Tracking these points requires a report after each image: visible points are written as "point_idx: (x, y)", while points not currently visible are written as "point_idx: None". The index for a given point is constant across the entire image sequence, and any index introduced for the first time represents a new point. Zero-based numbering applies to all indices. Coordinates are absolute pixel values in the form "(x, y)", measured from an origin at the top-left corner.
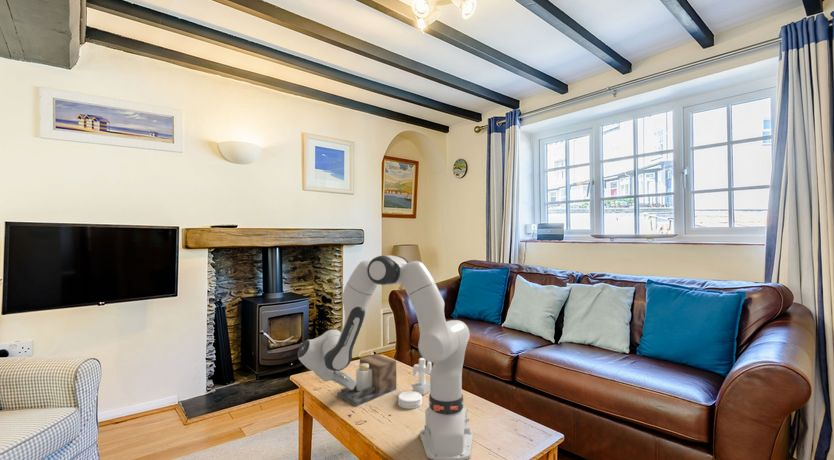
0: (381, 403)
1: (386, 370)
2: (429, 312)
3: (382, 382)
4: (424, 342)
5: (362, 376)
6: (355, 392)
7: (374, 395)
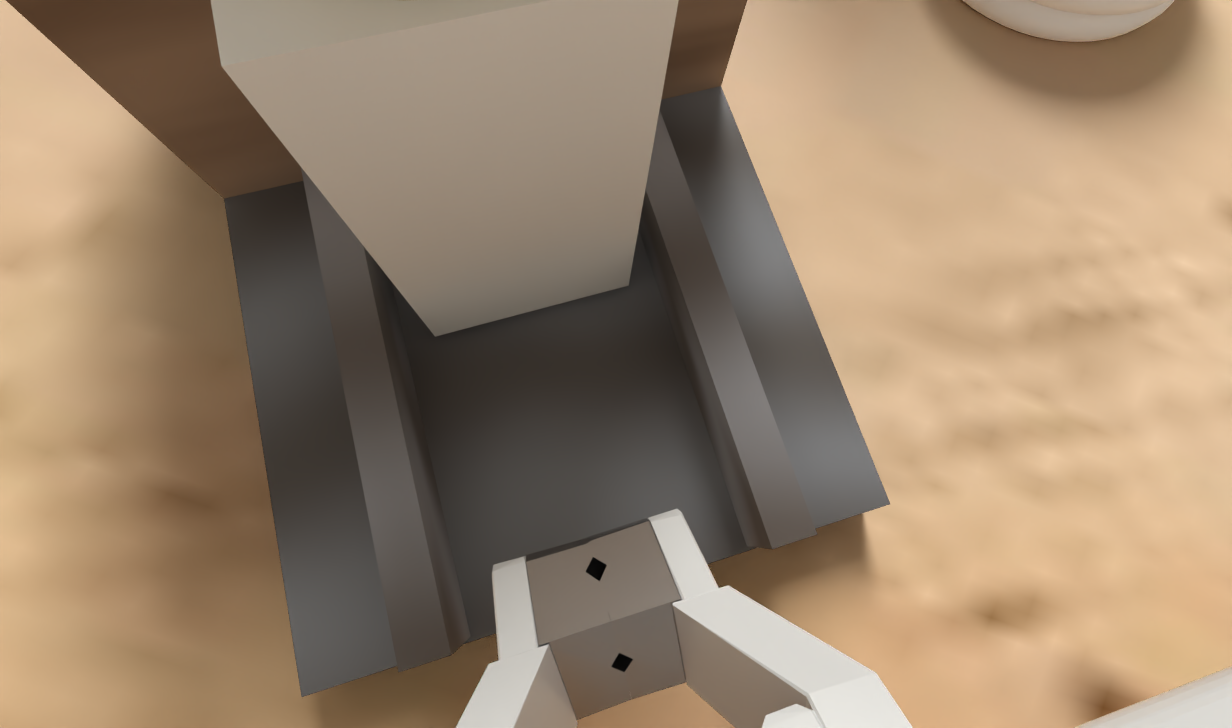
0: (918, 180)
1: None
2: None
3: None
4: None
5: (629, 99)
6: (505, 382)
7: (753, 173)
